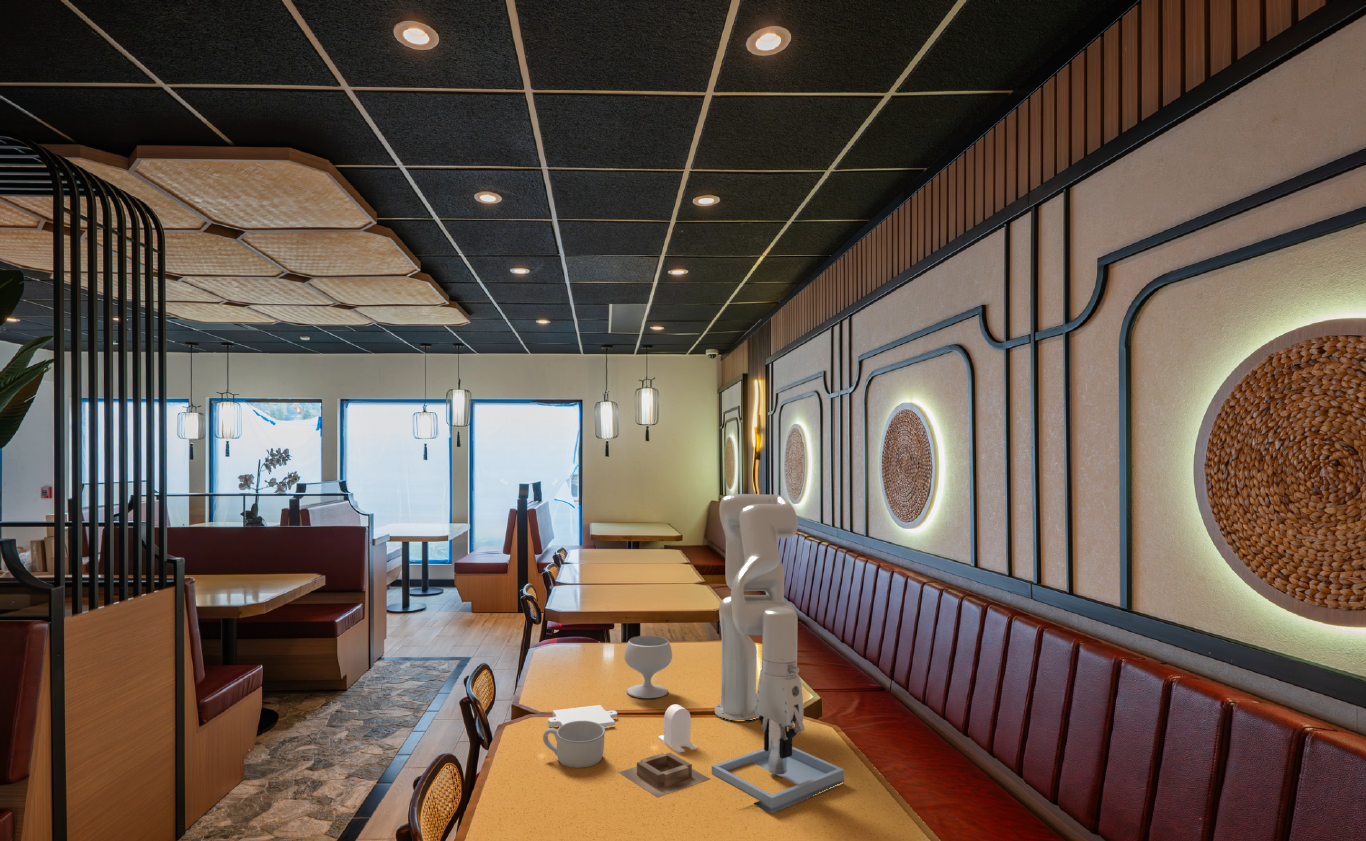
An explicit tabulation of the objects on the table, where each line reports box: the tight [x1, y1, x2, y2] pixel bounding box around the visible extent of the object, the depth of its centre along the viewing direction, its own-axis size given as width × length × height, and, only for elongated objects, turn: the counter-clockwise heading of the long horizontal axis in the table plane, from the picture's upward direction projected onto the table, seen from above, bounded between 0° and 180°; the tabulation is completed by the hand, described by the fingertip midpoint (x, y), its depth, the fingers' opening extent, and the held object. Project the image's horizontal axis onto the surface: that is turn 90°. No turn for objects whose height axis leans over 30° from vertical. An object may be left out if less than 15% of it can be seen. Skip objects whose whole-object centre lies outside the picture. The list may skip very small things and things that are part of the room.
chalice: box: [623, 635, 673, 699], centre depth 212 cm, size 14×14×15 cm
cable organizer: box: [657, 703, 698, 754], centre depth 172 cm, size 5×10×10 cm, turn 31°
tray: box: [711, 746, 845, 815], centre depth 156 cm, size 22×18×3 cm
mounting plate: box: [547, 704, 618, 728], centre depth 188 cm, size 18×13×2 cm
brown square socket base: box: [618, 752, 711, 798], centre depth 154 cm, size 14×14×4 cm
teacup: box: [542, 721, 606, 769], centre depth 162 cm, size 14×11×8 cm
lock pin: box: [767, 719, 789, 775], centre depth 156 cm, size 4×4×12 cm
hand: (777, 752), depth 156 cm, fingers closed on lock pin, 4 cm apart
